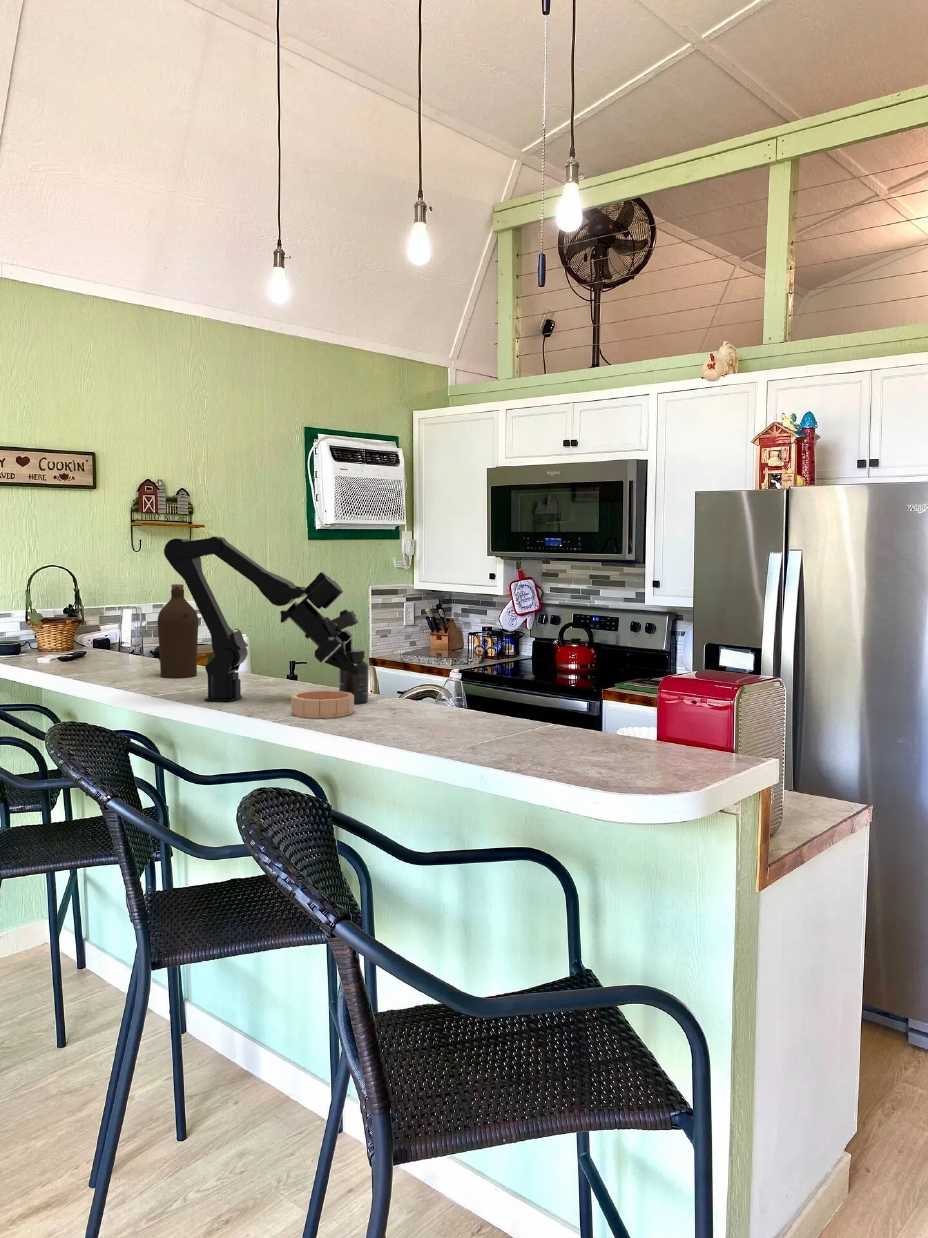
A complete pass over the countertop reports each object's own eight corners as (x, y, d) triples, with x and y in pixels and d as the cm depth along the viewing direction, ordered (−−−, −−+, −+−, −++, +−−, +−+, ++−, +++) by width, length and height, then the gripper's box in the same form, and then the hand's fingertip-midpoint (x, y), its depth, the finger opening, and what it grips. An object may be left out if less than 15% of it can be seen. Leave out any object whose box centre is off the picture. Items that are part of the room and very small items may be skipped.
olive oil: (207, 674, 249) (205, 584, 247) (182, 679, 239) (181, 585, 237) (175, 672, 253) (173, 583, 251) (149, 677, 243) (148, 584, 241)
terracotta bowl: (282, 716, 189) (282, 698, 189) (305, 706, 202) (305, 689, 201) (341, 719, 186) (341, 701, 186) (360, 709, 199) (360, 691, 199)
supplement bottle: (332, 702, 207) (332, 650, 206) (349, 698, 213) (350, 647, 212) (357, 705, 204) (357, 652, 203) (374, 701, 210) (374, 649, 209)
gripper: (329, 600, 197) (379, 651, 198) (343, 596, 216) (389, 643, 216) (293, 636, 198) (343, 686, 198) (311, 628, 217) (356, 675, 217)
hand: (359, 671), depth 208 cm, fingers closed on supplement bottle, 7 cm apart
